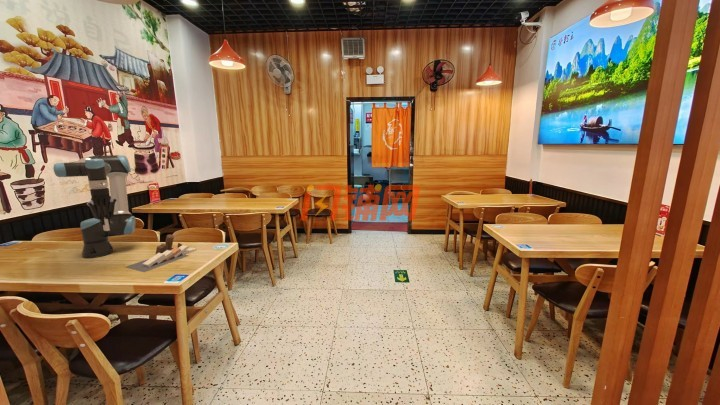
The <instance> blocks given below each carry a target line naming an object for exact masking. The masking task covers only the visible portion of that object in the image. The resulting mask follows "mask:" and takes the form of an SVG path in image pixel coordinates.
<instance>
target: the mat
mask: <svg viewBox="0 0 720 405" xmlns="http://www.w3.org/2000/svg"><path fill="white" fill-rule="evenodd" d="M186 257H190V255H189V254H185V255H179V256H177V257H176V258H173V257H172V258H170V259H169V260H167V261H165V260H163V261H162V262H160V263H159V264H157V263H155V264H153V265H152V266H150V267H147V266H144V265H143V263H144V262H146V261H147V260H149V259H150V258H147V259H145V260H141V261H138V262H134V263H132V264H130V265H126V266H124V268H125V269H130V270H135V271H138V272H141V273H146V272H149V271H152V270H154V269H156V268H160V267H162V266H166V265H168V264H171V263H173V262H176V261H178V260H181V259H184V258H186Z"/></svg>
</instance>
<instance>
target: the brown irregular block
mask: <svg viewBox="0 0 720 405" xmlns="http://www.w3.org/2000/svg"><path fill="white" fill-rule="evenodd" d="M165 237H166V238H165V243H161V244H159V245H157V246H156V248H155V249H156V250H155V255H156V254H158V253H163V252H165V251H166V250H169V251H171V250H172V249H173V243H174V239H175V236H174V235H173V234H170V233H169V234H167V235H166V236H165ZM182 245H183V244H182V243H180V242H178V243H177V248H179V247H180V246H182Z"/></svg>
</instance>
